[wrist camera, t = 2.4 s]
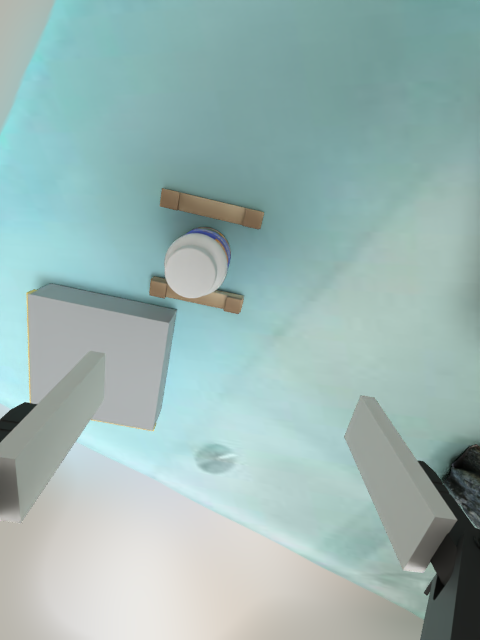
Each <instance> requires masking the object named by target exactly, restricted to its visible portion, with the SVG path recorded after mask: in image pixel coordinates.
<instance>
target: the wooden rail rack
mask: <svg viewBox="0 0 480 640" xmlns="http://www.w3.org/2000/svg"><path fill="white" fill-rule="evenodd" d="M160 206H161V207H165V208H169V209H173V210H180V211H184V212H188V213H193V214H197V215H201V216H206V217H210V218H214V219H218V220H223V221H227V222H231V223H236V224H240V225H243V226H246V227H250V228H255V229H260V228H261V224H262V220H263V216H264V212H261V211H257V210H253V209H248V208H244V207H240V206H236V205H232V204H227V203H223V202H219V201H215V200H211V199H206V198H202V197H198V196H194V195H190V194H185V193H181V192H177V191H173V190H169V189H164V188H162V192H161V200H160ZM149 293H150V295H151V296H156V297H160V298H165V297H170V298H174V299H179V300H184V301H188V302H193V303H198V304H202V305H207V306H212V307H217V308H221V309H224V311H226V312H231V313H236V314H239V312H241V308H242V304H243V300H244V296H243V295H238V294H234V293H229V292H224V291H220V290H215V291H214V292H212V293H210V294H208V295H205V296H201V297H198V298H186V297H182V296H180V295H178V294H177V293H175V292H174V291H173V290H172V289H171V288H170V286H169V285H168V283H167V281H166V279H164V278H160V277H155V276H154V277H153V278H151V283H150V291H149Z"/></svg>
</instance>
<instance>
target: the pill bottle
mask: <svg viewBox="0 0 480 640" xmlns="http://www.w3.org/2000/svg"><path fill="white" fill-rule="evenodd" d="M230 258H231V251H230V246H229V243H228V241H227V240H226V238H225V237H224V236H223V235H222V234H221V233H220V232H219V231H217V230H215V229H213V228H208V227H200V228H196V229H193V230H191V231H190V232H188V233H186V234H185V235H183V236H181V237H180V238H178V239H177V240H175V241H174V242H173V243H172V244H171V246H170V247H169V248H168V250H167V253H166V256H165V262H164V266H165V278H166V281H167V283H168V285H169V286H170V288H171V289H172V290H173V291H174V292H175V293H177V294H178V295H180V296H182V297H186V298H198V297H201V296H205V295H208V294H210V293H212V292H214V291H215V290H217V289H218V288H219V287H220V286H221V284H222V283H223V281H224V279H225V277H226V274H227V270H228V266H229V263H230Z"/></svg>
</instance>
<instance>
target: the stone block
mask: <svg viewBox="0 0 480 640" xmlns="http://www.w3.org/2000/svg"><path fill="white" fill-rule="evenodd" d="M451 465H452V468H451V473H450V474H449V477H448V478H447V479H446V480H445V481H444V483H443V484H444V485H445V486H446V488H447V490H448V491H449V493H450V494H451V495H452V497H453V498H454V499H455V501H456V502H457V504H461V505H462V507H463V510H464V511H465V513H466V514H467V516H468V517H469V518H470V520H471V521H472V522H473V523H474V524H475V525H476V526H477V527H478V528H479V529H480V447H479V446H478V445H477V444H476V445H473V446H471V447H469V448H468V449H467V450H466V451H465V452H464V454H463V455H462V456H461V457H459V459H458V460H456V461H455V462H454V463H453V464H451Z"/></svg>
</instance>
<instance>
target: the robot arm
mask: <svg viewBox="0 0 480 640" xmlns="http://www.w3.org/2000/svg"><path fill="white" fill-rule="evenodd" d="M105 355H106V353H100V352H94V351H89V352H88V353H87V354H86V355H85V356H84V357H83V358H82V359H81V360H80V361H79V362H78V363H77V364H76V365H75V366H74V367H73V369H72V370H71V371H70V372H69V373H68V374H67V375H66V376H65V377H64V378H63V379H62V380H61V381H60V382H59V383H58V384H57V385H56V386H55V387H54V388H53V389H52V390H51V391H50V392H49V393H48V394H47V395H46V396H45V397H44V398H43V399H42V400H41V401H40V402H39V403H38V404H33V403H26V402H24V403H23V404H21V405H19V406H17V407H15V408H13V409H11V410H10V411H9V412H8V413H7V414H5V415H4V416H3V417H2V418H1V419H0V521H9V522H16V523H22V521H23V519H24V518H25V516H26V515H27V513H28V512H29V510H30V509H31V507H32V506H33V505H34V503H35V502H36V500H37V499H38V497H39V496H40V494H41V493H42V491H43V490H44V488H45V487H46V485H47V484H48V482H49V481H50V479H51V477H52V476H53V475H54V473H55V472H56V470H57V469H58V467H59V466H60V464H61V463H62V461H63V460H64V458H65V457H66V455H67V454H68V452H69V451H70V449H71V448H72V446H73V445H74V443H75V442H76V440H77V439H78V437H79V436H80V434H81V433H82V431H83V430H84V428H85V427H86V425H87V424H88V422H89V421H90V420H91V418H92V417H93V415H94V414H95V412H96V411H97V409H98V408H99V406H100V405H101V403H102V402H103V400H104V382H105ZM344 437H345V439H346V442H347V444H348V446H349V449H350V451H351V453H352V455H353V458H354V460H355V462H356V464H357V467H358V469H359V471H360V474H361V476H362V478H363V480H364V483H365V485H366V487H367V489H368V492H369V494H370V496H371V499H372V501H373V503H374V505H375V508H376V510H377V512H378V514H379V517H380V519H381V521H382V524H383V526H384V528H385V530H386V533H387V535H388V537H389V539H390V542H391V544H392V546H393V549H394V551H395V553H396V555H397V558H398V560H399V562H400V564H401V567H402V569H403V570H405V571H413V572H421V573H424V571H425V569H426V568H427V566H428V565H429V563H430V562H431V563H432V565H433V567H434V569H435V571H436V575H435V576H434V578H433V579H432V581H431V582H430V584H429V585H428V587H427V588H426V590H425V592H424V594H426V595H428V594H429V592H430V595H429V600H428V605H427V609H426V614H425V619H424V624H423V629H422V634H421V639H420V640H480V529H477V528H475V527H474V526H473V525H472V523H471V522H470V520H469V519H468V518H467V516H466V515H465V513H464V512H463V511H462V509H461V508H460V506H459V505H458V504H457V502H456V501H455V499H454V498H453V497H452V495H451V494H449V491H448V490H447V488H446V487H445V485H443V483H442V481H441V480H440V478H439V477H438V476H437V474H436V473H435V472H434V471H433V470H432V469H431V468H430V467H429V466H428V465H427V464H426V463H425V462H423V461H417V460H416V458H415V457H414V455H413V454H412V452H411V451H410V449H409V448H408V446H407V445H406V443H405V442H404V440H403V439H402V438H401V436H400V435H399V433H398V432H397V430H396V429H395V427H394V426H393V424H392V423H391V421H390V420H389V418H388V417H387V415H386V414H385V412H384V411H383V409H382V408H381V407H380V405H379V404H378V402H377V401H376V399H375V398H374V397H368V396H362V395H360V398H359V400H358V403H357V405H356V408H355V410H354V413H353V416H352V418H351V421H350V423H349V426H348V428H347V431H346V433H345V436H344Z"/></svg>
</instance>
